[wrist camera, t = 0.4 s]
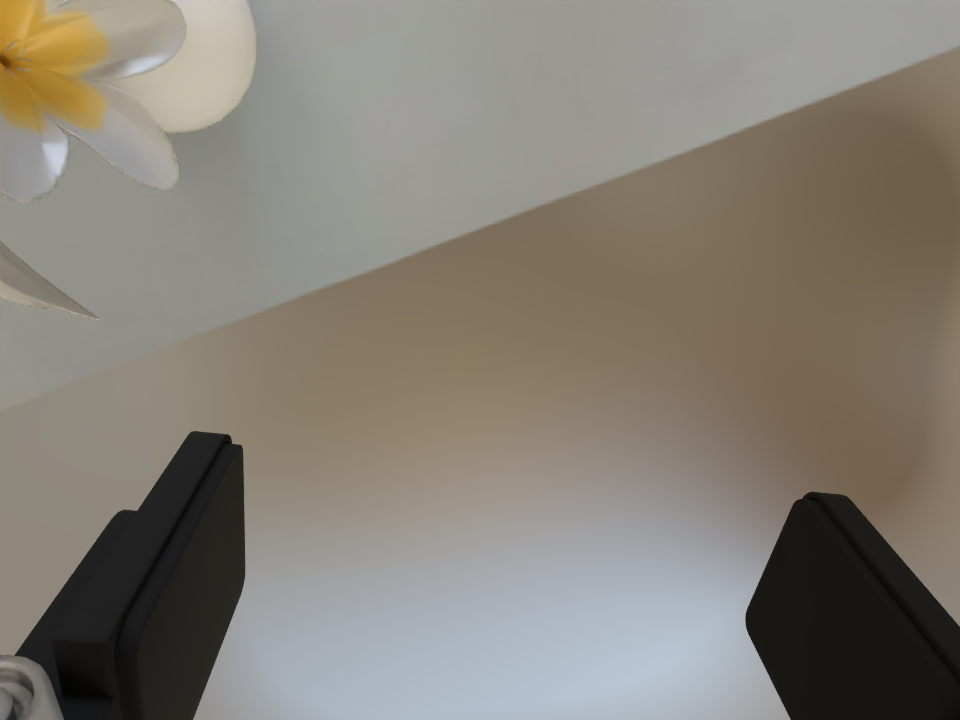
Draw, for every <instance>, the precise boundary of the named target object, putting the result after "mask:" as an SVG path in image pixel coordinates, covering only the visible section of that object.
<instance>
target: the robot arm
mask: <svg viewBox="0 0 960 720" xmlns="http://www.w3.org/2000/svg"><path fill="white" fill-rule="evenodd" d="M243 474H244V473H243V448H242V446H241V445H237V444H232V440H231V437H230V436H229V435H228V434H218V433H206V432H198V431H193V432H191V433H190V434H189V435H188V436H187V438H186V439H185V441H184V442H183V444H182V445H181V447H180V448H179V450H178V451H177V453H176V454H175V455H174V457H173V458H172V460H171V462H170V463H169V465H168V466H167V468H166V469H165V470H164V472H163V473H162V475H161V476H160V478H159V479H158V481H157V482H156V484H155V485H154V487H153V488H152V490H151V491H150V493H149V494H148V496H147V497H146V499H145V500H144V502H143V503H142V505H141V506H140V508H139V509H138V511H133V510H122V511H120V512H118V513H117V514H116V515H115V516H114V517H113V518H112V519H111V521H110V522H109V524H108V525H107V526H106V528H105V529H104V530H103V532H102V533H101V535H100V536H99V537H98V539H97V540H96V542H95V543H94V545H93V546H92V548H91V549H90V550H89V551H88V553H87V554H86V556H85V557H84V559H83V560H82V561H81V563H80V564H79V565H78V567H77V568H76V570H75V571H74V573H73V574H72V575H71V577H70V578H69V580H68V581H67V582H66V584H65V585H64V587H63V588H62V589H61V591H60V592H59V594H58V595H57V596H56V598H55V599H54V601H53V602H52V603H51V605H50V606H49V608H48V609H47V610H46V612H45V613H44V615H43V616H42V617H41V619H40V620H39V622H38V623H37V625H36V626H35V627H34V629H33V630H32V631H31V633H30V634H29V636H28V637H27V638H26V640H25V641H24V643H23V644H22V646H21V647H20V649H19V650H18V651H17V653H16V654H15V655H14V656H12V655H0V720H193V718H194V716H195V713H196V710H197V707H198V705H199V702H200V700H201V697H202V694H203V692H204V689H205V687H206V684H207V681H208V679H209V676H210V674H211V671H212V669H213V666H214V663H215V661H216V658H217V655H218V653H219V650H220V648H221V645H222V643H223V640H224V637H225V635H226V632H227V629H228V627H229V624H230V622H231V619H232V616H233V614H234V611H235V609H236V606H237V603H238V601H239V598H240V596H241V592H242V589H243V585H244V579H245V529H244V528H245V527H244V475H243ZM746 628H747V631H748V634H749V636H750V638H751V640H752V642H753V644H754V646H755V648H756V650H757V652H758V654H759V656H760V658H761V660H762V662H763V664H764V666H765V668H766V670H767V672H768V674H769V676H770V679H771V681H772V682H773V685H774V687H775V689H776V691H777V693H778V695H779V697H780V698H781V701H782V703H783V705H784V707H785V709H786V711H787V713H788V715H789V717H790V719H791V720H960V627H959V625H958V624H957V623H956V622H955V621H954V620H953V618H952V617H951V616H950V615H949V614H948V613H947V611H946V610H945V609H944V608H943V607H942V606H941V604H940V603H939V602H938V601H937V600H936V599H935V598H934V596H933V595H932V594H931V593H930V592H929V590H928V589H927V588H926V587H925V586H924V585H923V583H922V582H921V581H920V580H919V579H918V578H917V577H916V575H915V574H914V573H913V572H912V571H911V570H910V568H909V567H908V566H907V565H906V564H905V563H904V562H903V560H902V559H901V558H900V557H899V556H898V554H897V553H896V552H895V551H894V550H893V549H892V548H891V546H890V545H889V544H888V543H887V542H886V540H885V539H884V538H883V537H882V536H881V535H880V533H879V532H878V531H877V530H876V529H875V528H874V526H873V525H872V524H871V523H870V522H869V521H868V520H867V518H866V517H865V516H864V515H863V514H862V513H861V511H860V510H859V509H858V508H857V507H856V506H855V504H854V503H853V502H852V501H851V500H850V499H849V498H848V497H847V496H844V495H839V494H829V493H819V492H809V493H807V494H806V495H805V496H804V497H803V499H800V500H797V501H796V502H795V503H794V504H793V506H792V508H791V510H790V513H789V515H788V517H787V520H786V522H785V524H784V526H783V529H782V531H781V533H780V536H779V538H778V540H777V542H776V545H775V547H774V549H773V551H772V554H771V556H770V559H769V561H768V563H767V565H766V567H765V570H764V572H763V574H762V577H761V579H760V581H759V583H758V586H757V588H756V591H755V593H754V595H753V597H752V599H751V602H750V604H749V606H748V609H747V612H746Z"/></svg>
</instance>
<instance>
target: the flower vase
mask: <svg viewBox="0 0 960 720" xmlns="http://www.w3.org/2000/svg"><path fill="white" fill-rule="evenodd" d="M256 60H257V34H256V27H255V23H254V19H253V15H252V11H251V8H250V4H249V1H248V0H0V191H1V193H2V194H3V195H4V196H6V197H8V198H10V199H12V200H14V201H16V202H18V203H19V204H32V203H35V202H39V201H40V200H42V199H43V198H45V197H47V196H48V195H49V194H50V193H51V192H52V191H53V190H54V189H55V188H56V187H57V185H58V183H59V182H60V180H61V179H62V177H63V175H64V172H65V170H66V167H67V164H68V158H69V141H68V138H67V136H66V135H65V134H64V133H63V132H62V131H61V129H62V130H63V131H65V132H67V133H69V134H71V135H72V136H74V137H76V138H77V139H79V140H80V141H82V142H83V143H85V144H86V145H88V146H89V147H90V148H91V149H93V150H94V151H95V152H96V153H97V154H99V155H100V156H101V157H103V158H104V159H105V160H106V161H108V162H109V163H110V164H111V165H113V166H114V167H116V168H117V169H118V170H120V171H121V172H122V173H124V174H126V175H128V176H129V177H131V178H132V179H133V180H135V181H137V182H140V183H142V184H143V185H145V186H148V187H152V188H154V189H163V190H166V189H168V188H172V186H173V185H174V184H175V182H176V181H177V180H178V179H179V176H178V175H179V168H178V161H177V158H176V155H175V151H174V149H173V147H172V145H171V143H170V141H169V139H168V137H167V136H166V134H165V133H173V134H180V133H186V132H192V131H198V130H202V129H204V128H206V127H208V126H210V125H213V124H215V123H217V122H219V121H221V120H223V119H224V118H225V117H226V116H227V115H228V114H229V113H230V112H231V111H232V110H233V109H234V108H235V107H236V106H237V105H238V104H240V102H241V100H242V98H243V97H244V95H245V93H246V91H247V89H248V88H249V86H250V84H251V82H252V78H253V73H254V69H255V64H256ZM0 298H3V299H6V300H10V301H13V302H17V303H20V304H23V305H28V306H31V307H32V306H34V307H39V308H42V309H43V308H45V309H48V308H49V307H48V305H49V306H52V307H54V308H57V309H61V310H64V311H67V312H69V313H74V314H77V315H80V316H85V317H87V318H90V319H94V320H99V321H100V318H99V317H97V316H96V315H94V314H93V313H92V312H90V311H89V310H87V309H86V308H84V307H83V306H82V305H80V304H79V303H77V302H76V301H75V300H73V299H72V298H70V297H69V296H68V295H66V294H65V293H64V292H62V291H61V290H60V289H58V288H57V287H55V286H54V285H53V284H52V283H50V282H49V281H48V280H46V279H45V278H44V277H42V276H41V275H40V274H39V273H37V272H36V271H35V270H34V269H32V268H31V267H30V266H29V265H28V264H26V263H25V262H24V261H23V260H22V259H20V258H19V257H18V256H17V255H16V254H15V253H13V252H12V251H11V250H10V249H9V248H8V247H7V246H5V245H4V244H3V243H2V242H1V241H0Z"/></svg>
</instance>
